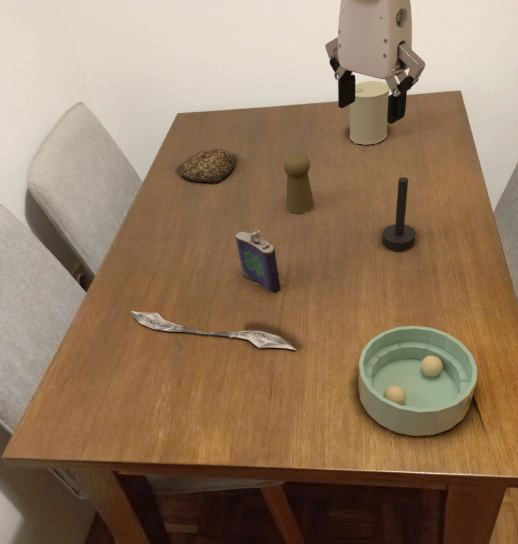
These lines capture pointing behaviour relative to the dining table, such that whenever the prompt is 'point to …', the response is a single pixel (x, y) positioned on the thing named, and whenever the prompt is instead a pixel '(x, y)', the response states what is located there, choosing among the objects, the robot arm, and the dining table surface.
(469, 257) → the dining table surface
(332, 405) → the dining table surface
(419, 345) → the bowl
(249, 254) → the flask
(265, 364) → the dining table surface
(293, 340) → the dining table surface
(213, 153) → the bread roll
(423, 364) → the dough ball
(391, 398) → the dough ball
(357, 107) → the can
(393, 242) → the peg on round base
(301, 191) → the olive brown pawn
